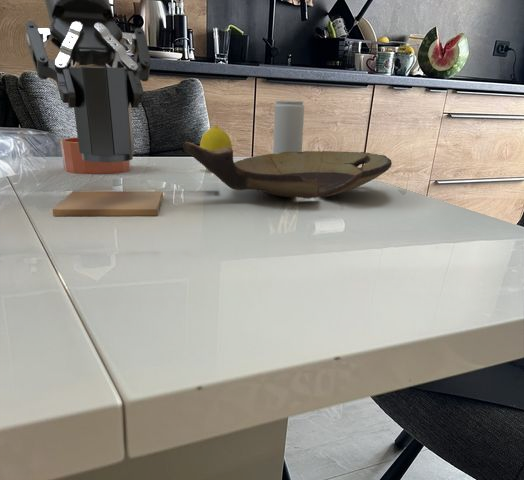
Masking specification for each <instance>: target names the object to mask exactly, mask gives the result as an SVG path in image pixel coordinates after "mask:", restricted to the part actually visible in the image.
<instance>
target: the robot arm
mask: <svg viewBox="0 0 524 480" xmlns="http://www.w3.org/2000/svg"><path fill="white" fill-rule="evenodd" d="M44 4H45V8H46V11H47V15H48V19H49V23H50V25H49V27H38V25H37V23H35V22H34V21H26V23H25V36H26V45H27V48H28V51H29V53H30V57H31V59H32V62H33V66H34V68H35V71H36V74H37V77H38V78H39V79H41V80H48V79H51V80H52V79H53V80H54V81H55V82H56V85H57V90H58V94H59V98H60V100H61V102H62V103H63V104H67V107H68V108H69V109H74V108H75V102H76V96H75V91H74V87H73V83H72V79H71V75H70V72H69V67H77V64H78V65H79V66H90V65H94V66H98V67H110V68H127V70H128V83H129V95H130V107H131V109H138V108H139V106H140V104H142V102H143V96H144V88H143V85H142V82H148V81H149V78H150V70H151V67H152V60H151V56H150V51H149V46H148V42H147V38H146V34H145V30H144V29H143V28H141V27H136V28H134V32H133V33H132V32H123V31H122V30H121V28H120V27H119V26H118V25H117V24H116V21H115V17H114V14H113V13H114V12H113V9H112V7H111V3H110V0H44ZM48 42H51V43H52V44H53V46H55V47H56V49H58V50H59V53H58V54H57V56H56V58H55V60H52V59H49V57H48V54H47V51H46V48H47V47H48ZM124 46H126V47H127V49H126V48H125V47H124ZM127 50H128V51H129V54H130V55H132V56H133V57H134V59H132V58H131V57H130V55H128V53H127ZM134 60H135V61H134Z"/></svg>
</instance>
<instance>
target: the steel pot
mask: <svg viewBox="0 0 524 480" xmlns="http://www.w3.org/2000/svg"><path fill="white" fill-rule="evenodd" d="M69 72H70V75H71V79H72V83H73V87H74V91H75V96H76V102H75V108H73V112H74V120H75V127H76V136H77V137H78V145H79V153H82V158H83V160H85V161H90V162H122V161H129V160H131V161H132V160H133V159H134V156H133V155H134V154H133V153H134V152H135V147H134V134H133V121H132V107H131V104H130V95H129V83H128V70H127V68H110V67H107V66H75V67H69Z"/></svg>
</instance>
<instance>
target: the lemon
mask: <svg viewBox="0 0 524 480" xmlns="http://www.w3.org/2000/svg"><path fill="white" fill-rule="evenodd" d="M232 145H233V144H232V140H231V138H230V136H229V135H228V133H227V132H226V131H225V130H223V129H221V128H220V127H219V126H218V125H213V126H212V127H211V128H209V129H207V130H206V131H205V132H204V133H203V135H202V136H201V139H200V141H199V147H201V148H204V149H207V150H211V151H214V150H218V149H221V148H224V147H230V148H232V149H233V146H232ZM204 168H205V169H207V168H206V167H205V166H204Z"/></svg>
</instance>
